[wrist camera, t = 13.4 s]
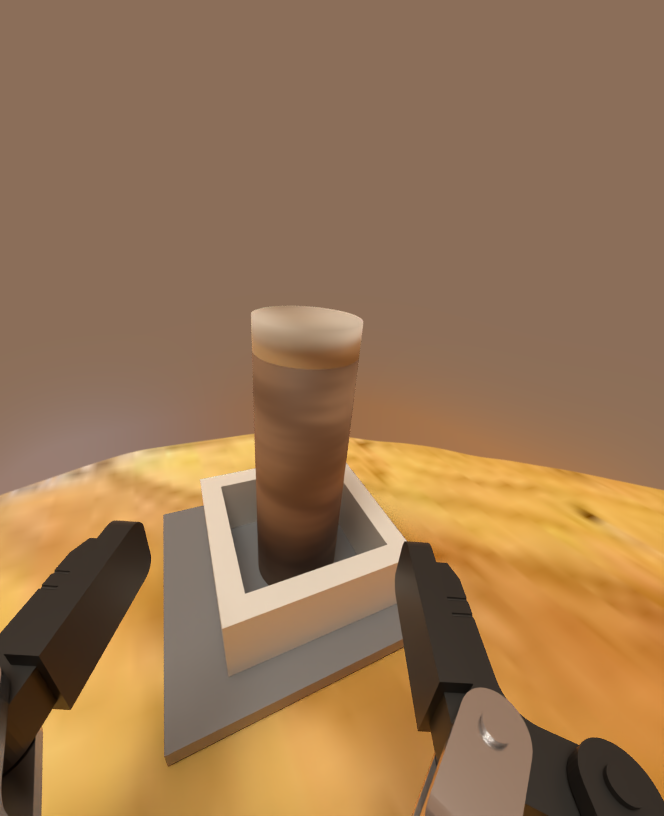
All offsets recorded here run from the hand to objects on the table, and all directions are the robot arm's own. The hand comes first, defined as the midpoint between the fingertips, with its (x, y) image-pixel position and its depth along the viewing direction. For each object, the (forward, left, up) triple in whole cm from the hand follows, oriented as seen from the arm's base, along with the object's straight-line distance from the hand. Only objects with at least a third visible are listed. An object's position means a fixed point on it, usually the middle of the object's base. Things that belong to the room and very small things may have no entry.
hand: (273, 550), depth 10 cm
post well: (-3, -7, -11) cm, 14 cm away
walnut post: (-3, -7, -10) cm, 13 cm away
